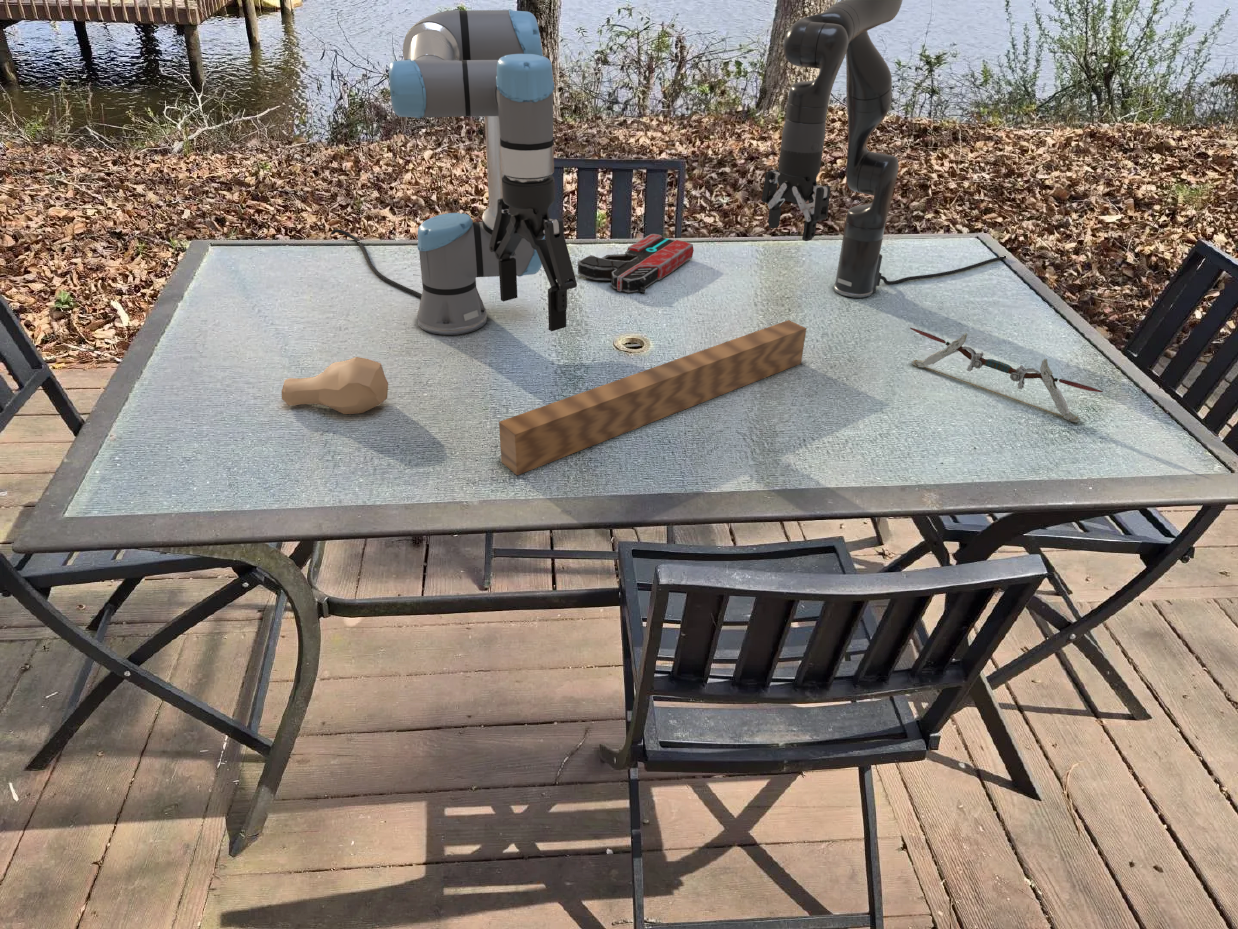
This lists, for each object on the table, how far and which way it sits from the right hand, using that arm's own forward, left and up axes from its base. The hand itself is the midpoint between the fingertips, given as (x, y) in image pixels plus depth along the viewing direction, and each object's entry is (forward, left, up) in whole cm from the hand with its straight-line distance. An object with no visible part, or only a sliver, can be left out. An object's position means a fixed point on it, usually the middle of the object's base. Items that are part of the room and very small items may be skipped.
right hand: (790, 233), depth 166 cm
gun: (+1, -60, -28) cm, 66 cm away
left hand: (+57, +12, -1) cm, 59 cm away
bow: (-35, +27, -28) cm, 52 cm away
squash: (+85, -20, -28) cm, 92 cm away
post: (+28, +6, -28) cm, 41 cm away
